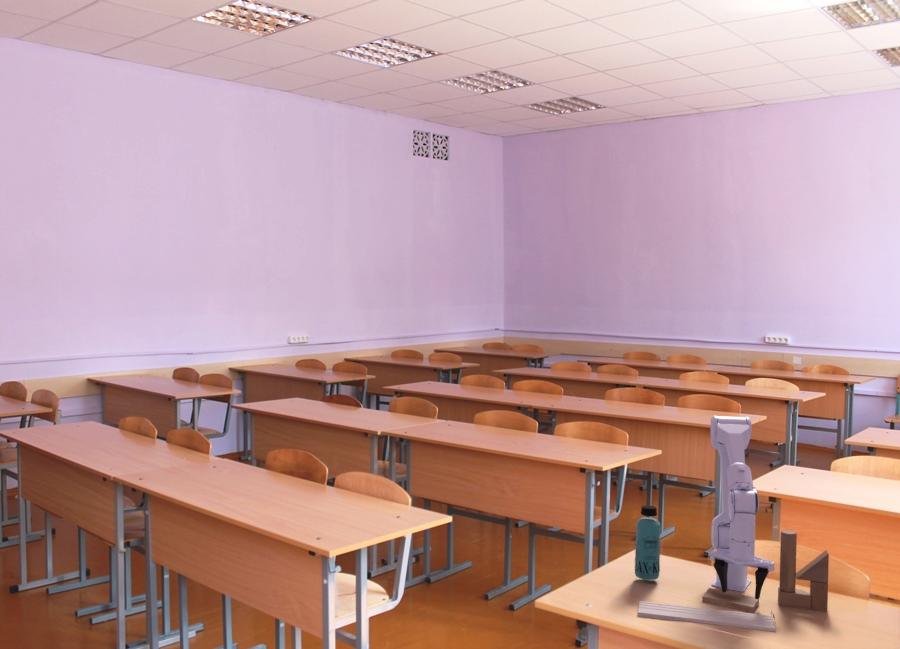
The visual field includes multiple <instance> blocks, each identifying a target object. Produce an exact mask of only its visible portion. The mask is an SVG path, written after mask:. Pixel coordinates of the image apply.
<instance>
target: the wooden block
mask: <svg viewBox="0 0 900 649" xmlns="http://www.w3.org/2000/svg"><path fill="white" fill-rule="evenodd" d="M797 538H798V536H797V532H795V531H793V530H787V529H784V530H781V532H780V552H779V553H780V556H779V557H780V558H779V587H778V588H777V589H778V591H777V603H778V606H780V607H786V608H787V607H788V608H794V609H795V608H796V609H804V610H811V611H817V612H824V613H826V612H828V600H829V564H830V563H829V562H830V554H829V552H828V549H826V550H824V551H823V552H822V553H820V554H819V555H818V556H817V557H815V558H814V559H812V560H811V561H809V563H808V564H806V565H805V566H804V567H802V568H801V569H800V570H798V571H797V542H798V541H797V540H798V539H797ZM797 580H798V581H799V580H802V581H809V592H808V591H805V590H803V589H798V588H797V589H796V586H797V585H796V581H797Z"/></svg>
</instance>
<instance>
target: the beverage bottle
mask: <svg viewBox="0 0 900 649" xmlns="http://www.w3.org/2000/svg"><path fill="white" fill-rule="evenodd" d="M657 509H658V508H657V507H656V506H654V505H648V504H647V505H642V506H641V508H640V510H641V511H640V515H642V516H643V517H640V518H639V519H638V520H637V521H636V530H635V531H636V534H635V549H634V551H635V553H634V554H635V556H634V569H633V570H634V574H635V576H636V577H637V578H639V579H641V580H646V581H653V580H657V579H659V576H660V573H661V572H660V571H661V567H660V563H661V560H660V559H661V522H660V521H659V520H658V519H656V518H655V517H656V516H658V512H657V511H658V510H657ZM644 516H645V517H644ZM653 517H654V518H653Z"/></svg>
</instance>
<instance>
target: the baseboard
mask: <svg viewBox="0 0 900 649" xmlns="http://www.w3.org/2000/svg"><path fill="white" fill-rule="evenodd" d="M770 613H771V615H770V614H769V615H768V614H760V613H752V612H743V611H741V612H740V611H733V610H723V609H716V608H715V609H714V608H707V607H706V608H704V607H698V606H697V607H696V606H695V607H694V606H689V605H679V604H670V603H661V602H650V601H643V600H639V603H638V611H637V616H638V617H642V618H643V617H644V618H653V619H661V620H669V621H670V620H671V621H678V622H680V621H684V622H694V623H700V624H709V625H710V624H711V625H718V626H719V625H720V626H726V627H735V628H745V629H752V630H760V631H769V632H777V626H776V625H777V623H776V622H775V615H774V613H773V611H772V609H771V611H770Z"/></svg>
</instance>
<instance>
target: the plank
mask: <svg viewBox="0 0 900 649" xmlns="http://www.w3.org/2000/svg"><path fill="white" fill-rule="evenodd" d="M702 602H704V603H708V604H713V605H717V606H723V607H727V608H732V609H736V610H740V611H741V610H742V611H745V612H748V613H754V612H755V611H756V609H757V608H758V606H759V605H760V598H759V599H755V596H750V595H745V594H741V593H735V592H731V591H726V592H722V589H717V588H711V587H708V589H706V591H705V592H704V594H703V595H702Z"/></svg>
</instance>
